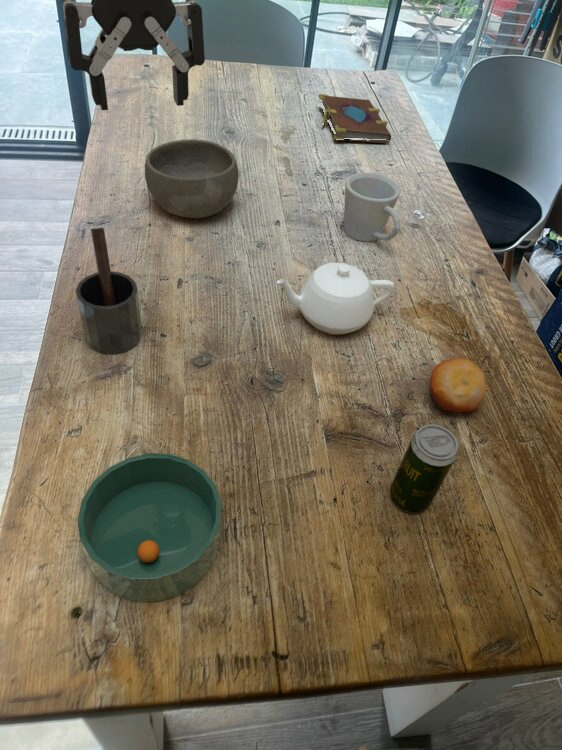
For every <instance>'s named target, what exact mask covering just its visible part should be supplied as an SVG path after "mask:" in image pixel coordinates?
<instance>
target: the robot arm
mask: <svg viewBox="0 0 562 750" xmlns="http://www.w3.org/2000/svg"><path fill="white" fill-rule="evenodd" d="M61 4H62V14H63V24H64V32H65V42H66V51H67V59H68V61H69V65H70V67H71V68H72V69H73V70H74V71H78V72H79V71H82V72H85V73H86V74H88V79H89V84H90V86H89V87H90V92H91V97H92V100H93V102H94V104H95V105H96V106H99V107H100V110H101V111H108V110H109V104H108V97H107V89H106V81H105V80H106V79H105V76H104V72H103V70H104V68H105V67H106V65H107V63H108V62H109V60H111V59H112V58H113V57H114V54H115V53H116V51H118V48H119V49H121V50H123V52H133V51H136V50H138V49H139V50H143V51H154V49H155V48H157V47H158V46H160V48H161V49H162V50H163V52H165V54H166V56H168V58H169V59H170V60H171V61H172V63H173V65H171V70H172V72H171V74H172V89H173V90H172V93H173V95H172V96H173V101H174V103H175V105H176V106H177V107H178V106H184V104H185V102H184V101H187V100H188V99H189V94H190V93H189V92H190V91H189V72H190V70H191V68H193V67H195V66H199V67H201V66H202V65H204V64H205V60H206V57H205V55H206V54H205V40H204V24H203V8H202V6H201V5H200V4H199V3H198V1H197V0H185V1H174V2H173V0H91V2H85V1H84V2H83V1H74V0H62V3H61ZM176 16H178V17H179V19H180V21H181V23H182V24H183V25H184V26H185V27H186V36H187V48H188V50H185V51H183V52H181V51H180V49H179V48H178V47H177V45H176V44H175V42H174V41H173V39H172V38H171V37H170V36H169V35H168V33H167V32H168V31H169V29H170V27H171V25H172V24H173V22H174V21H175V18H176ZM90 17H93V20H95V22H96V23H97V24H98V26H99V27H100V28H101V30H100V31H99V33H98V35H97V36H96V39H95V40H94V45H93V46H92V48H91V50H90V52H89V53H88V55H87V54H85V53H82V41H81V30H80V29H84V28H85V27H86V25H87V21H88V19H89V18H90Z"/></svg>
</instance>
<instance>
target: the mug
mask: <svg viewBox="0 0 562 750" xmlns="http://www.w3.org/2000/svg"><path fill="white" fill-rule="evenodd" d="M344 187H345V188H344V211H343V212H344V215H343V228H344V229H343V230H344V232H345V234H346V235H347V236H349V238H352V239H353V240H355V241H360V242H365V243H366V242H369V243H370V242H375V241H376V240H382V241H390V240H393V239H394V238H395V237H396V236H397V235H398V233H399V231H400V229H401V220H400V217H399V214H398V213H397V211H396V210H395V206H396V204H397V201H398V200H399V196H400V195H401V188H400V186H399V185H398V183H397V182H396V181H394V180H393V179H392V178H390V177H388V176H385V175H383V174H380V173H375V172H367V171H365V172H357V173H354V174H351V175H349V176H348V177H347V179H346V180H345V186H344ZM390 217H391V218H392V222H393V228H392V230H391V231H390V232H389V233H386V234H385V233H383V232H384V230H385V228H386V226H387V224H388V222H389V219H390Z"/></svg>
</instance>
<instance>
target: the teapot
mask: <svg viewBox="0 0 562 750" xmlns="http://www.w3.org/2000/svg"><path fill="white" fill-rule="evenodd" d="M276 284H277V285H279V286H280V287H282V289H283V291H284V294H285V295H286V298H287V300H288V301H289V303H290V304H291V305H292V306H293V307H295V308H297V309H299V310H300V312H301V314H302V316H303V317H304V319H305V320H306V321H307V322H308V323H310V325H312V326H313V327H314V328H315V329H317V330H318V331H321V332H323V333H326V334H328V335H346V334H349V333H353V332H355V331H358V330H360V329H361V328H363V327H364V326H365V325H366V324H367V323H368V322H369V321H370V319H371V318H372V316H373V314H374V311H375V308H374V307H376V306H378V305H380V304H382V303H384V302H385V301H386V300H388V299H390V297H392V295H393V294H394V292H395V291H396V286H395V283H394V282H393V281H392V280H388V279H374V280H373V279H372V280H370V279H369V278H368V275H367V274H366V273H365V272H364V271H363V270H361V269H360V268H359V267H357V266H354V265H353V264H349V263H344V262H339V261H338V262H336V261H335V262H327V263H324V264H322V265H320V266H318V267H317V268H316V269H315V270H314V271H312V273H311V274H310V275H309V277H308V278H307V279H306V281H305V282H304V284H303V286H302V288H301V290H300V293H299V294H297V293H295V292H294V290H293V288H292V287H291V285H290V283H289V282H288V281H287V279H285V278H280V279H278V280H277V281H276ZM377 289H386V291H385V292H384V293H382V294H381V295H379V296H378V297H376V298H374V292H373V291H374V290H377Z"/></svg>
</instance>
